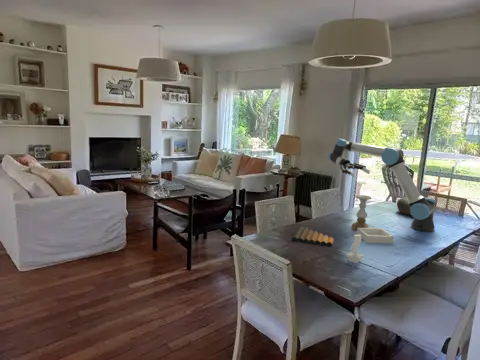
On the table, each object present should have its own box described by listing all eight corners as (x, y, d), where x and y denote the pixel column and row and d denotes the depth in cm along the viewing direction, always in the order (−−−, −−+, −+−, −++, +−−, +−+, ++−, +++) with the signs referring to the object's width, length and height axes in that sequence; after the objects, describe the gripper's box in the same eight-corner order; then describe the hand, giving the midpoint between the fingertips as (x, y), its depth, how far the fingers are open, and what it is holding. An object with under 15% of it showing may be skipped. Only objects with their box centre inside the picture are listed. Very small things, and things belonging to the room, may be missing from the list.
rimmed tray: (381, 234, 239) (382, 228, 238) (392, 243, 222) (393, 236, 221) (356, 234, 238) (357, 227, 237) (366, 242, 221) (367, 236, 221)
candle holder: (369, 232, 242) (373, 199, 238) (353, 231, 245) (356, 197, 240) (367, 227, 253) (370, 195, 249) (351, 226, 255) (354, 194, 251)
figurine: (344, 262, 190) (347, 235, 188) (351, 257, 197) (353, 231, 195) (358, 265, 186) (360, 238, 183) (364, 260, 193) (366, 234, 190)
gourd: (431, 210, 301) (431, 190, 296) (428, 221, 281) (428, 201, 276) (399, 208, 314) (399, 189, 310) (394, 218, 294) (394, 199, 290)
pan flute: (298, 230, 244) (291, 241, 221) (299, 225, 244) (292, 236, 221) (335, 235, 236) (332, 247, 213) (336, 230, 236) (332, 242, 212)
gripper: (355, 165, 274) (374, 175, 257) (328, 169, 266) (346, 180, 248) (357, 156, 271) (376, 166, 253) (330, 160, 262) (348, 171, 245)
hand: (361, 173), depth 251 cm, fingers open, 13 cm apart
